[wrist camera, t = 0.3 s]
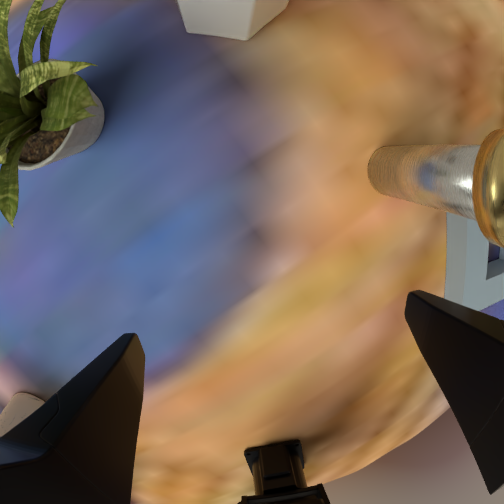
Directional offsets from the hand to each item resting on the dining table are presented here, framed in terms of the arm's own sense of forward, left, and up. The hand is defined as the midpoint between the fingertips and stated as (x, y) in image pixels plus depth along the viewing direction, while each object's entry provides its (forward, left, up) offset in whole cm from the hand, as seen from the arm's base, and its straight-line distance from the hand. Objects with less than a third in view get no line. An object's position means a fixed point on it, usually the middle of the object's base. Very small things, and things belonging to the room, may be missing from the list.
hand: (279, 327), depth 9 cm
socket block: (-5, -24, -14) cm, 28 cm away
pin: (+3, -12, -14) cm, 19 cm away
